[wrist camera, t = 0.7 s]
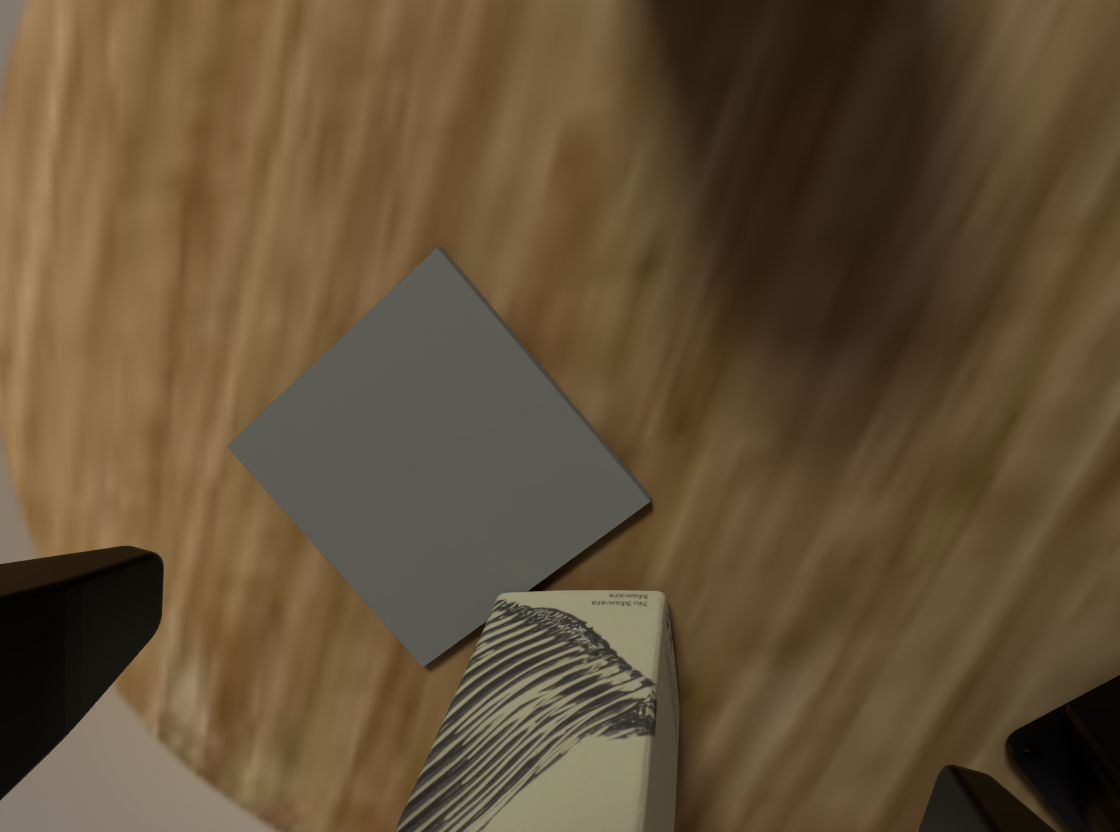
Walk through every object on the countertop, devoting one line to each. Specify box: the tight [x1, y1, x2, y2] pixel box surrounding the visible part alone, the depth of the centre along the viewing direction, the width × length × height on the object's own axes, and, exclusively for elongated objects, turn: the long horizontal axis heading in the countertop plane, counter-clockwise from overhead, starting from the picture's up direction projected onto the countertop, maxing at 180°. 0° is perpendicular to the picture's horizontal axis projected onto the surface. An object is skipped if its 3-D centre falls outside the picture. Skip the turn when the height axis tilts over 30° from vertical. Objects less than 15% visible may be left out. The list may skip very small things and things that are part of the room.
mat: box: [227, 247, 651, 667], centre depth 23 cm, size 9×9×1 cm
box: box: [395, 590, 680, 832], centre depth 17 cm, size 5×4×13 cm
